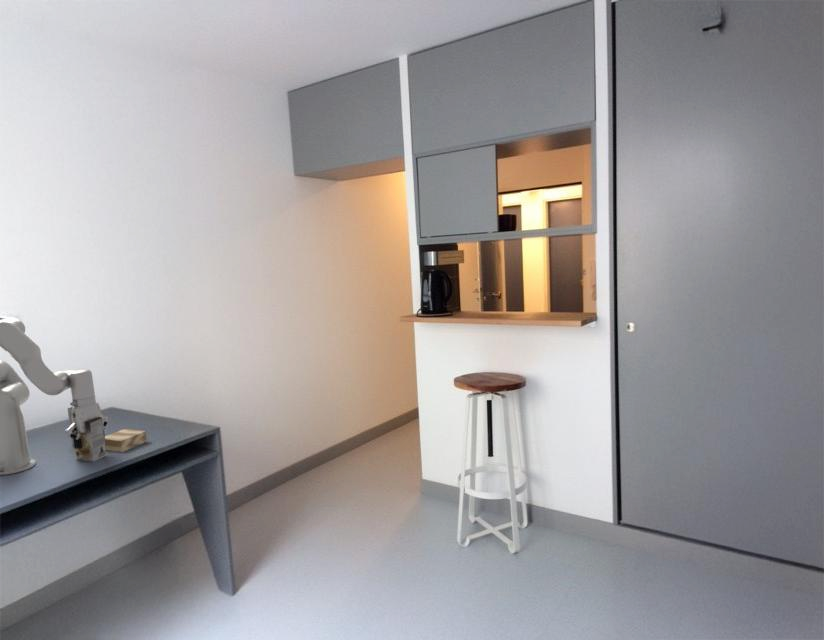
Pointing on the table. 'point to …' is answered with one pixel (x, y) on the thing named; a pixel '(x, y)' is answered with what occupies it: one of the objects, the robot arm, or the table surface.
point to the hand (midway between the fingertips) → (90, 443)
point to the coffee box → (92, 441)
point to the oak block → (124, 440)
